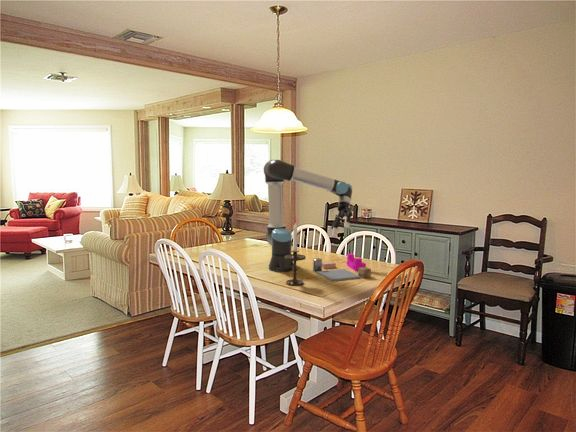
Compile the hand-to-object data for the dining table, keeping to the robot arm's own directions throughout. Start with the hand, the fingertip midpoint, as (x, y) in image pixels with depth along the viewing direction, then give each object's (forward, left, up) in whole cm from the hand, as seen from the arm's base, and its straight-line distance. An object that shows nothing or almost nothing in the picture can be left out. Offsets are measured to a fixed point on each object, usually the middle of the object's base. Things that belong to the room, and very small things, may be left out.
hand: (340, 232), depth 249 cm
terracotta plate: (-5, +5, -22) cm, 23 cm away
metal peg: (-15, -1, -22) cm, 27 cm away
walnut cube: (+3, -23, -22) cm, 32 cm away
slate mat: (-9, -15, -22) cm, 28 cm away
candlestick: (-38, -21, -22) cm, 49 cm away
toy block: (+10, -3, -22) cm, 25 cm away
